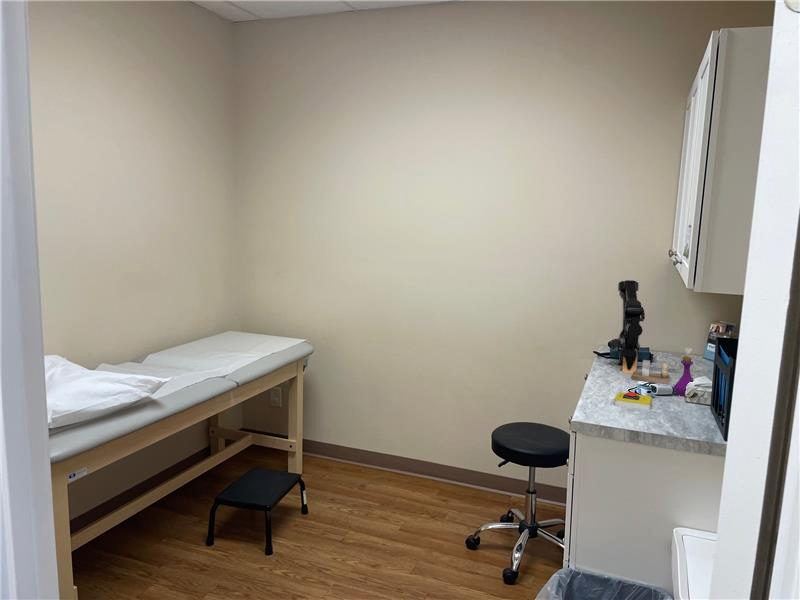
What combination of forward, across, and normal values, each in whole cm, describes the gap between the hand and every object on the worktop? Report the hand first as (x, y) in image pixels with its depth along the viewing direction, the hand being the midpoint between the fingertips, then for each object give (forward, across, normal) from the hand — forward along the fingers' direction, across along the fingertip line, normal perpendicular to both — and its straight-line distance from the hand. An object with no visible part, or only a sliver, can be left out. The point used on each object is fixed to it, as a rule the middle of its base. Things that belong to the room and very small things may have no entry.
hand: (629, 368), depth 248 cm
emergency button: (+2, +51, +6) cm, 51 cm away
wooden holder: (+2, +9, +9) cm, 13 cm away
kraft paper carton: (+2, 0, 0) cm, 2 cm away
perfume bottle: (+2, +29, +22) cm, 36 cm away
